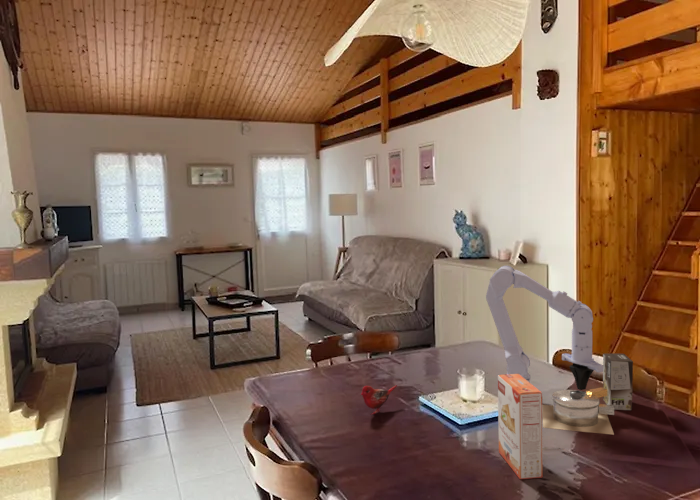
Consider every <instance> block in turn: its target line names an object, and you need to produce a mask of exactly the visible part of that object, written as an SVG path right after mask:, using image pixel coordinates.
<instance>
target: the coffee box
mask: <svg viewBox="0 0 700 500" xmlns="http://www.w3.org/2000/svg"><path fill="white" fill-rule="evenodd" d="M602 358H603V360H602V365H603V372H602V388H605V389H607V396H605V397H602V400H603V401H604V403H605V404H606V405H613V406H614V411H617V410H619V411H632V410H633V382H634V381H633V380H634V379H633V375H634V373H633V372H634V371H633V370H634V361H633V360H632V359H630V358H629V357H628V356H627V355H626V354H625V353H603V354H602Z"/></svg>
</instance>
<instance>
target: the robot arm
mask: <svg viewBox="0 0 700 500" xmlns="http://www.w3.org/2000/svg"><path fill="white" fill-rule="evenodd" d="M488 282H489V283H488V287H487V291H486V294H485V299H486V302H487V305H488V307H489V310H490V311H489V312H490V314H491V316H492V319H493V322H494V324H495V327H496V330H497V332H498V335H499V338H500V340H501V341H500V342H501V344H502V347H503V349H504V354H505V355H504V356H505V360H506V364H507V365H506V374H519V375H521V376H522V377H523V378H524V379H526V380H527V381H528V382H529V383H531V374H529V373H530V372H529V368H530V366H531V359H530V358H529V356H528V355H527V354H526V353H525V352H524V350H523V349H524V348H522V345H520V342H519V340H518V337H517V334H516V330H515V329H514V326H513V323H512V321H511V317H510V314H509V312H508V309H507V306H506V303H505V301H504V298H503V297H504V296H505V294H506V292H507V290H509V288H510V287H511V286H512V285H513V289H519V288H520V289H521V288H524V289H525V290H528V291H529V292H531V293H533V294H534V295H536V296H538V297H540V298H542V299H544V300H545V301H547V304H548V307H549V308H551V309H552V310H554V311H555V312H557V313H559V314H561V315H562V316H564V317H566V318H567V319H571V321H572V329H571V354H570V353H566V352H565V353H562V354H561V360H562V361H566V362H569V363H572V364H571V365H569V370H570V371H571V373H572V375H573V377H574V381H575V384H576V387H577V390H578V391H583V390H586V389H587V386H588V382H589V380H590V378H591V376H592V374H593V372H594V371H595V373H603V364H601V363H599V362H597V361H596V360H595V358H594V357H593V329H592V328H593V324H592V323H593V322H594V317H593V311H592V309H591V308H590V307H589V306H588V305H587V304H585V303H582V302H583V301H580V300H578V301H577V300H575V299H574V298H572V297H570V296H569V295H568V293H567V291H561V290H556V291H552V290H551V289H549V288H548V287H546V286H544V285H543V284H541V283H540V282H538V281H537V280H535V279H534V278H532V277H531V276H529V275H527V274H526V273H524V272H522V271H521V270H518V269H515V268H513V267H512V266H510V265H502V266H500V267H499V268H498V269H496V270H495V272H494V273H493V274H492V276H491V277H490V279H489V281H488Z"/></svg>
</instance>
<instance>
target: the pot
mask: <svg viewBox="0 0 700 500" xmlns="http://www.w3.org/2000/svg"><path fill="white" fill-rule="evenodd" d="M552 401H553V400H552ZM552 406H553V417H554V419H555V420H557V421H558V422H560V423H563V424H566V425H570V426H576V427H589V426H594V425H596V424H597V423H598V413H599V414H607V416H608V415H610V416H615V410H614V406H613V405H607V404H606V403H605V404H604V403H603V404H602V403H600V404H599V406H597V407H595V408H590V409H576V408H569V407H565V406H562V405H559V404H557V403H555V402H554V401H553V404H552Z"/></svg>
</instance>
